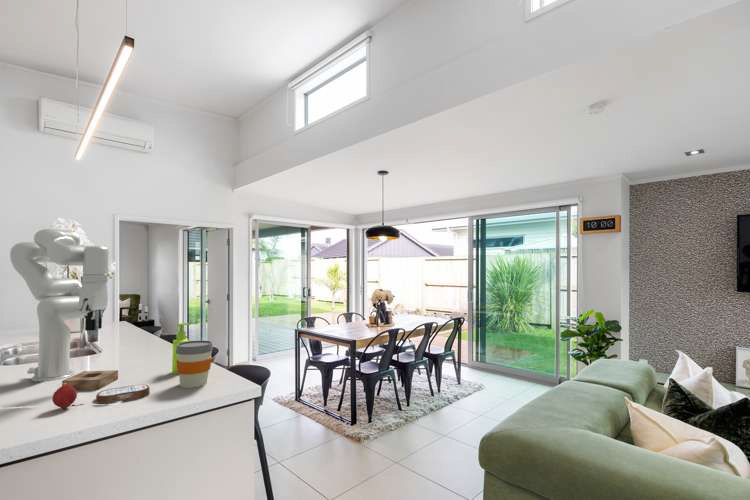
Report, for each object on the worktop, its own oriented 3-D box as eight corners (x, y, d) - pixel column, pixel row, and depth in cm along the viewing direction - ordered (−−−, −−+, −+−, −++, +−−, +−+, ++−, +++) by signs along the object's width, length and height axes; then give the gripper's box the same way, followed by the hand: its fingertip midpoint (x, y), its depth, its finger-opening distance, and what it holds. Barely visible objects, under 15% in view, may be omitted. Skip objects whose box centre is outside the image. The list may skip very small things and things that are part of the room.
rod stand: (61, 392, 131) (62, 380, 132) (83, 381, 143) (84, 371, 144) (99, 391, 133) (99, 379, 133) (117, 380, 145) (118, 370, 145)
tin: (95, 398, 125) (95, 408, 119) (95, 389, 125) (96, 398, 119) (147, 389, 134) (151, 398, 128) (148, 381, 134) (151, 389, 128)
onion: (61, 405, 119) (62, 379, 120) (80, 405, 120) (81, 379, 120) (47, 412, 113) (48, 385, 114) (67, 412, 114) (68, 385, 114)
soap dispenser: (193, 370, 160) (194, 322, 161) (179, 374, 154) (181, 324, 155) (182, 368, 162) (183, 321, 163) (168, 372, 156) (170, 324, 157)
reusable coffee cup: (219, 381, 145) (220, 342, 145) (191, 391, 133) (192, 348, 134) (196, 377, 150) (197, 339, 151) (167, 386, 139) (168, 345, 139)
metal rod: (85, 342, 137) (87, 303, 138) (90, 340, 140) (92, 302, 141) (94, 342, 138) (96, 303, 138) (99, 340, 141) (101, 302, 141)
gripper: (97, 278, 147) (95, 326, 147) (69, 280, 131) (67, 333, 130) (118, 278, 148) (116, 325, 148) (92, 280, 132) (90, 333, 131)
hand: (93, 329), depth 139 cm, fingers closed on metal rod, 3 cm apart
